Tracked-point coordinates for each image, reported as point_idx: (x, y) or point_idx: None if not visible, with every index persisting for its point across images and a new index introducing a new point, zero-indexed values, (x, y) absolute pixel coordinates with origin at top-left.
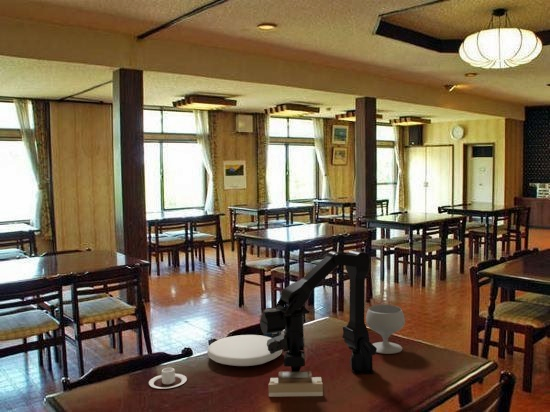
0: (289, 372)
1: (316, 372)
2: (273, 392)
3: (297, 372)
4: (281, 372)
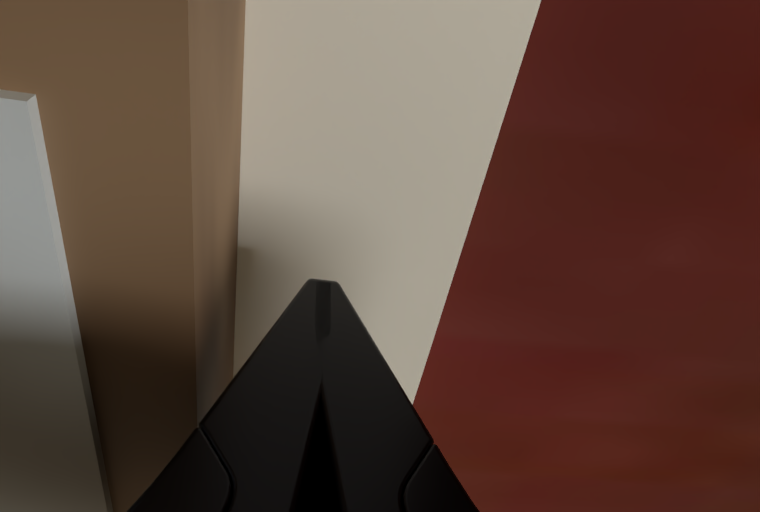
0: (57, 318)
1: (615, 457)
2: None
3: (80, 471)
4: (85, 52)
